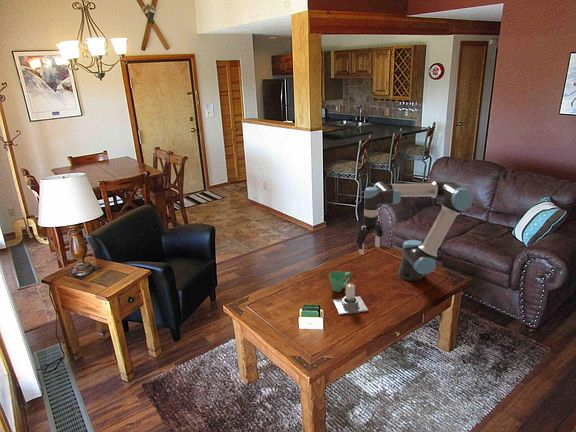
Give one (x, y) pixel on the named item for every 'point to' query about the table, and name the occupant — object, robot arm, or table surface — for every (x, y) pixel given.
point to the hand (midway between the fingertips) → (369, 250)
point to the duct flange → (350, 306)
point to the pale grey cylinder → (350, 293)
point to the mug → (339, 280)
